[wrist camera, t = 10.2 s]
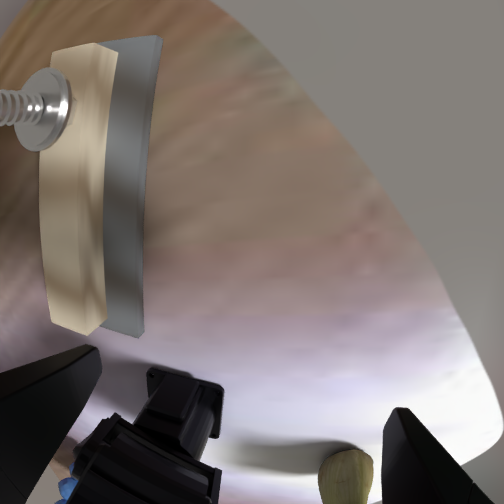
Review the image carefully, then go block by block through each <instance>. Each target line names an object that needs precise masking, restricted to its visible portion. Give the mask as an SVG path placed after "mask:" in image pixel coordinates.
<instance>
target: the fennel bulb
mask: <svg viewBox="0 0 504 504" xmlns="http://www.w3.org/2000/svg"><path fill="white" fill-rule="evenodd" d="M372 481H373V460H372V458H371V456H370V455H368V454H367V453H365V452H363V451H361V450H356V449H352V450H347V451H342V452H339V453H336V454H333V455H331V456H329V457H328V458H327V459H326V460H325V461H324V462H323V464H322V465H321V467H320V469H319V473H318V486H319V491H320V495H321V499H322V502H323V504H367V500H368V495H369V492H370V489H371V486H372Z"/></svg>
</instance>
